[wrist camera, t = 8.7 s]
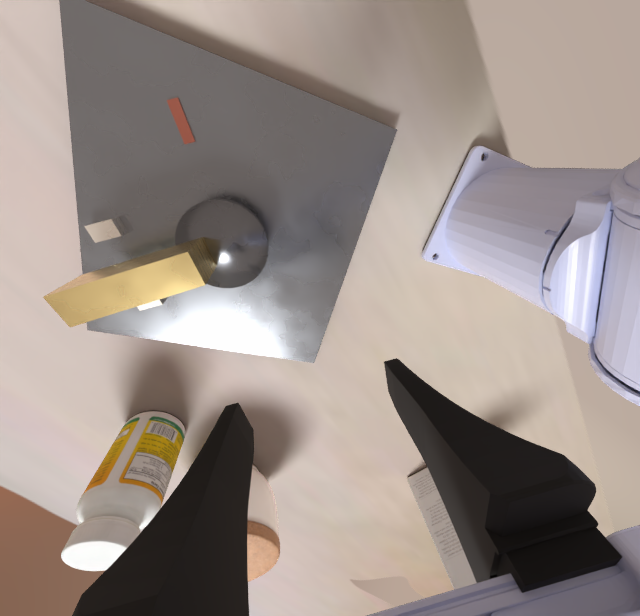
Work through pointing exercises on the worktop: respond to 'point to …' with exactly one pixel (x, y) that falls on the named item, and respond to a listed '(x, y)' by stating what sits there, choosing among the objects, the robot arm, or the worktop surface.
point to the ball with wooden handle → (173, 264)
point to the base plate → (213, 180)
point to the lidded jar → (261, 527)
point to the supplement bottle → (125, 490)
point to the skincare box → (441, 529)
